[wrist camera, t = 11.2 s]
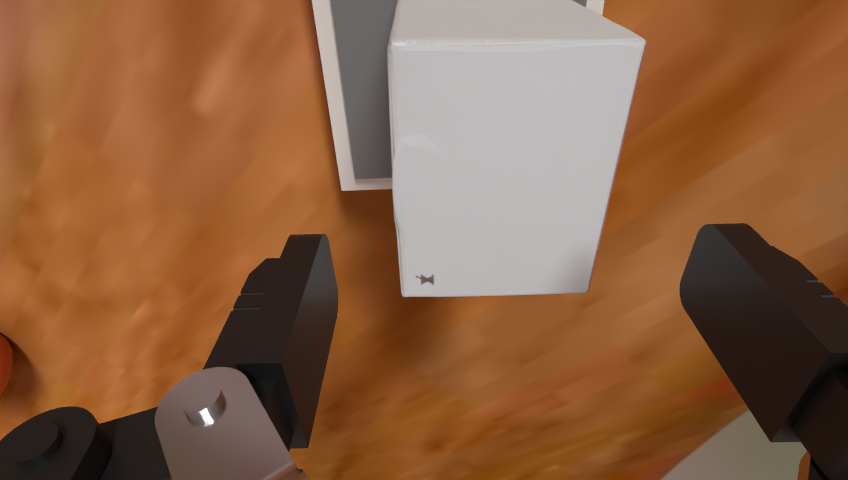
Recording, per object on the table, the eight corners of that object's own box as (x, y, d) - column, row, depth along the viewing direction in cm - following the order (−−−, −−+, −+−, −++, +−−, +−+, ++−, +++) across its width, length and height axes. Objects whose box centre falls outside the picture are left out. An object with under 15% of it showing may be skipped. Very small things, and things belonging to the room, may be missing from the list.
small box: (520, 141, 26) (590, 299, 15) (405, 143, 26) (397, 303, 16) (538, -26, 22) (654, 35, 11) (398, -23, 22) (378, 41, 11)
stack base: (596, -107, 23) (626, -110, 20) (560, 157, 31) (577, 185, 28) (312, -94, 23) (294, -95, 20) (348, 165, 31) (340, 194, 28)
